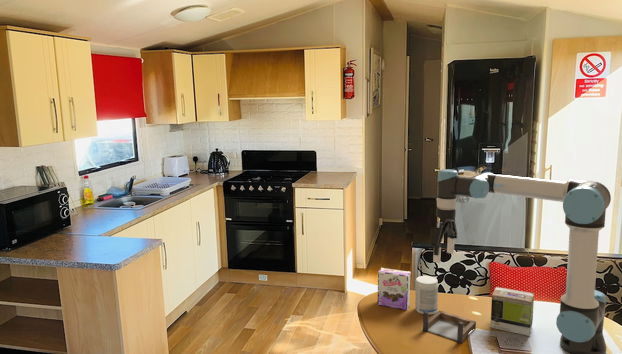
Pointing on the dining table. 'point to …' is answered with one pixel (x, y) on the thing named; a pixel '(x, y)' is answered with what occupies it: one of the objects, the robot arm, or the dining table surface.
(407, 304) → the candy box
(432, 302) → the supplement tub
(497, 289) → the tea box
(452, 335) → the keeper cradle
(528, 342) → the dining table surface
